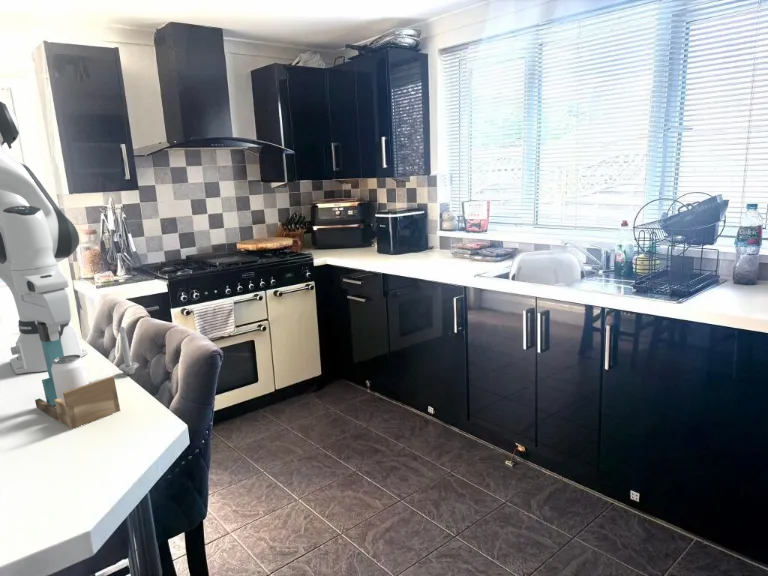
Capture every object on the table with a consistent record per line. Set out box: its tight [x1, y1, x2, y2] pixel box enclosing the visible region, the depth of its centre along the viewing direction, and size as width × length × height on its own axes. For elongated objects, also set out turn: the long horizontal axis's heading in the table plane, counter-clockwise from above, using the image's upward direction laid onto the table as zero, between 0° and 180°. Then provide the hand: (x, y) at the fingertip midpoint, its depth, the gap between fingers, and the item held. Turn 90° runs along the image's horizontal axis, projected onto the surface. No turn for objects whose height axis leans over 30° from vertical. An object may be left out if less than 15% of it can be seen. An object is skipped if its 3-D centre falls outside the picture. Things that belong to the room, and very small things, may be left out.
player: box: [37, 322, 64, 406], centre depth 124 cm, size 3×6×19 cm, turn 141°
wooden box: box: [34, 375, 121, 430], centre depth 121 cm, size 20×10×8 cm, turn 51°
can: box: [51, 355, 89, 401], centre depth 121 cm, size 6×6×12 cm
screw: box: [118, 326, 140, 376], centre depth 141 cm, size 13×5×5 cm
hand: (50, 338), depth 123 cm, fingers closed on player, 3 cm apart
